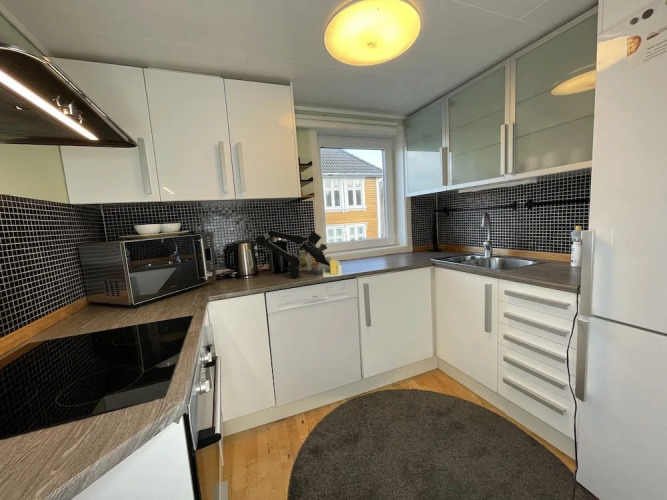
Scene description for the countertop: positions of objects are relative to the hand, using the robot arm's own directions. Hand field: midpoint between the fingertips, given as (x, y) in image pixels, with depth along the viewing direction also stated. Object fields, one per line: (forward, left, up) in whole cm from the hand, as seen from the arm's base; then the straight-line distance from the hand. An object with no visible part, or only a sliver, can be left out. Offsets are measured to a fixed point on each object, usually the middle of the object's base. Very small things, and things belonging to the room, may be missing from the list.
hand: (329, 265), depth 178 cm
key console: (+9, +4, -7) cm, 12 cm away
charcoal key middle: (+8, +6, -5) cm, 11 cm away
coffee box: (+17, +31, -7) cm, 36 cm away
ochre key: (+1, -2, -5) cm, 6 cm away
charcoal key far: (+17, +11, -5) cm, 21 cm away
